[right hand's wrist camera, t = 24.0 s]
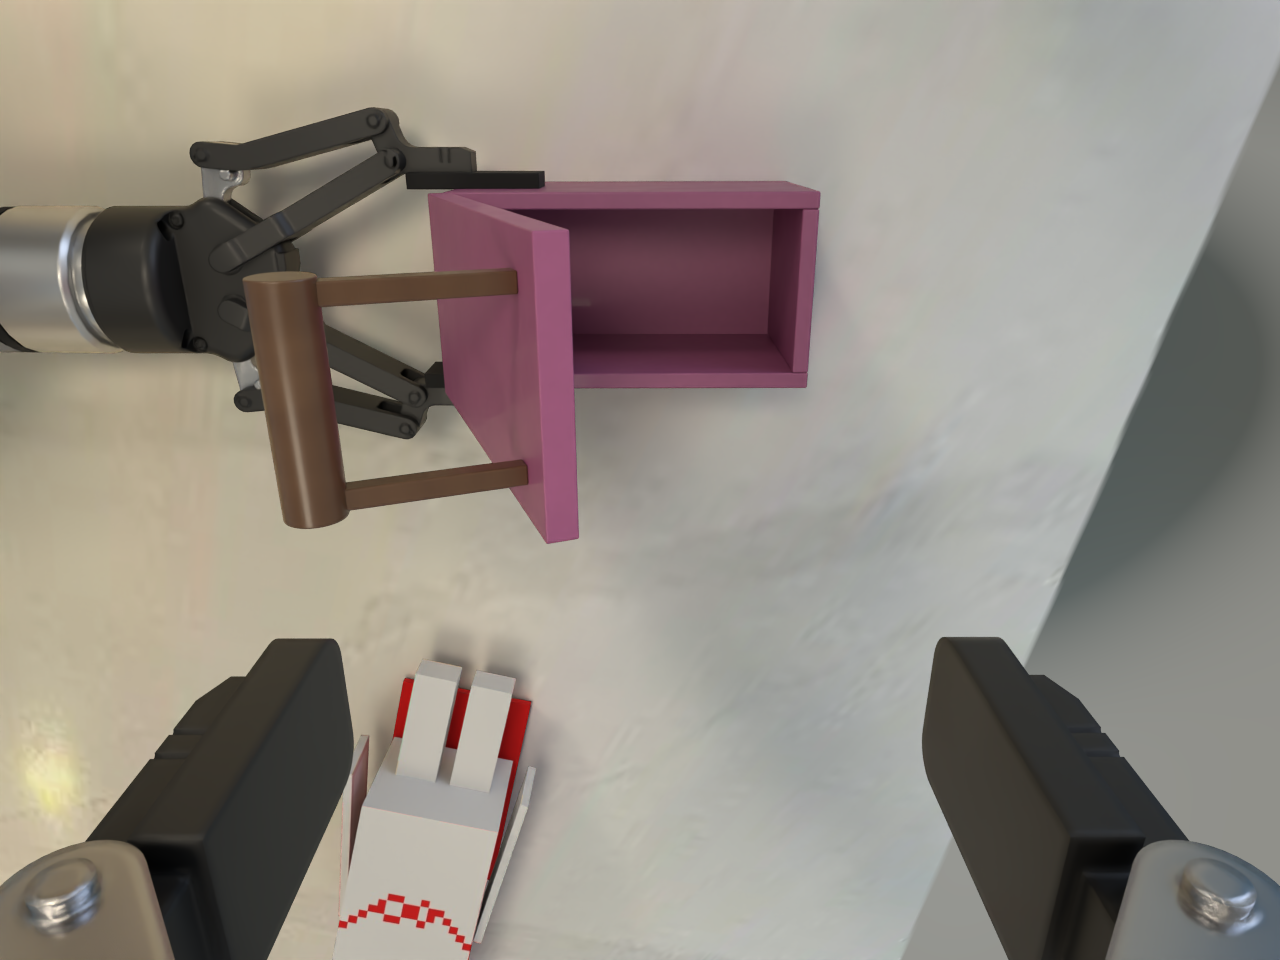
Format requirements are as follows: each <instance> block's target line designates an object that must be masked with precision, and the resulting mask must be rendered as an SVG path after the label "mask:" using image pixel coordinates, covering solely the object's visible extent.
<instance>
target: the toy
mask: <svg viewBox="0 0 1280 960" xmlns="http://www.w3.org/2000/svg"><path fill="white" fill-rule="evenodd" d="M461 672H462V667H459V666H455V665H450V664H445V663H440V662H436V661H431V660H426V659H423V660H422V662H421V664H420V666H419V668H418V670H417V672H416V674H415V679H414V680H413V679H408V678H405V679H404V681H403V686H402V692H401V697H400V703H399V708H398V713H397V719H396V724H395V730H394V735H393V741H392V743H391V745H390V747H389V749H388V751H387V753H386V756H385V758H384V760H383V762H382V764H381V766H380V768H379V771H378V773H377V775H376V777H375V779H374V781H373V783H372V785H371V788H370V790H369V792H368V794H367V773H368V751H369V736H367V735H361V737H360V739H359V741H358V743H357V746H356V748H355V750H354V752H353V760H352V766H351V771H350V775H349V778H348V781H347V784H346V786H345V788H344V791H343V808H342V836H341V865H340V893H339V916H340V921H339V926H338V931H337V936H336V942H335V947H334V952H333V957H332V960H469V955H470V951H471V946H472V941H473V942H476V943H480V944H481V941H482V938H483V935H484V933H485V930H486V927H487V924H488V921H489V918H490V915H491V913H492V910H493V907H494V904H495V901H496V898H497V895H498V892H499V890H500V887H501V884H502V881H503V878H504V875H505V872H506V870H507V867H508V864H509V861H510V858H511V855H512V852H513V849H514V847H515V844H516V841H517V838H518V835H519V832H520V829H521V827H522V824H523V821H524V818H525V815H526V812H527V809H528V806H529V801H530V796H531V791H532V786H533V781H534V776H535V771H536V768H533V767H530V766H528V769H527V772H526V775H525V778H524V781H523V784H522V787H521V790H520V792H519V795H518V798H517V801H516V804H515V807H514V810H513V813H512V816H511V819H510V822H509V824H508V827H507V830H506V833H505V836H504V839H503V842H502V845H501V848H500V844H501V840H502V835H503V830H504V826H505V821H506V816H507V812H508V807H509V803H510V798H511V793H512V789H513V784H514V780H515V775H516V770H517V766H518V761H519V756H520V752H521V747H522V743H523V738H524V733H525V729H526V724H527V719H528V715H529V710H530V706H531V701H525V700H520V699H515V698H512V693H513V689H514V685H515V681H516V678H511V677H507V676H502V675H497V674H492V673H488V672H483V671H478V670H477V671H476V674H475V677H474V680H473V683H472V686H471V690H466V689H461V688H458V686H459V681H460V677H461ZM499 849H500V851H499ZM498 853H499V854H498ZM487 880H489V883H488V886H487V888H486V891H485V894H484V890H485V886H486V882H487ZM483 894H484V898H483ZM482 898H483V902H482ZM481 903H482V906H481ZM480 907H481V910H480ZM479 911H480V915H479ZM478 915H479V919H478ZM477 919H478V923H477ZM476 924H477V927H476ZM475 928H476V931H475ZM474 932H475V935H474ZM473 936H474V940H473Z"/></svg>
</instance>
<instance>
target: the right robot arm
mask: <svg viewBox="0 0 1280 960" xmlns="http://www.w3.org/2000/svg"><path fill="white" fill-rule="evenodd" d="M353 749H354V739H353V729H352V723H351V716H350V709H349V703H348V696H347V689H346V683H345V676H344V670H343V663H342V656H341V651H340V648H339V645H338V643H337V642H336V641H335V640H334V639H275V640H273V641H272V642H271V643H270V644H269V645H268V647H267V648H266V650H265V651H264V652H263V654H262V655H261V656H260V658H259V659H258V661H257V662H256V663H255V665H254V666H253V667H252V669H251V670H250V671H249V673H248V674H247V676H246V677H230V678H228V679H227V680H225V681H224V682H222V683H221V684H220V685H218V686H217V687H215V688H214V689H212V690H211V691H209V692H208V693H207V694H205V695H204V696H202V697H201V698H199V699H198V700H196V701H195V703H194V704H193V705H192V706H191V708H190V709H189V710H188V712H187V713H186V714H185V715H184V717H183V718H182V719H181V720H180V722H179V723H178V724H177V726H176V727H175V728H174V733H173V735H169V736H168V737H167V738H166V740H165V741H164V742H163V743H162V745H161V746H160V747H159V748H158V750H157V751H156V752H155V758H154V759H150V760H149V761H148V762H147V764H146V765H145V766H144V767H143V769H142V770H141V771H140V773H139V774H138V775H137V776H136V778H135V779H134V780H133V781H132V783H131V784H130V785H129V787H128V788H127V789H126V790H125V792H124V793H123V794H122V795H121V797H120V798H119V799H118V801H117V802H116V803H115V804H114V806H113V807H112V808H111V809H110V811H109V812H108V813H107V815H106V816H105V817H104V818H103V820H102V821H101V822H100V823H99V825H98V826H97V827H96V829H95V830H94V831H93V832H92V834H91V835H90V836H89V837H88V839H87V840H86V841H85V842H83V843H79V844H75V845H71V846H68V847H65V848H62V849H60V850H57V851H54V852H52V853H50V854H48V855H45V856H43V857H41V858H40V859H38V860H36V861H34V862H32V863H30V864H29V865H27V866H26V867H24V868H23V869H21V870H20V871H18V872H17V873H15V874H14V875H13V876H12V877H10V878H9V879H8V880H7V881H5V882H4V883H3V884H2V885H1V886H0V960H267V958H268V956H269V954H270V952H271V949H272V947H273V945H274V943H275V941H276V938H277V936H278V934H279V932H280V930H281V927H282V925H283V923H284V921H285V919H286V916H287V914H288V912H289V910H290V907H291V905H292V903H293V901H294V899H295V896H296V894H297V892H298V890H299V888H300V885H301V883H302V881H303V879H304V877H305V874H306V872H307V870H308V868H309V866H310V863H311V861H312V859H313V857H314V855H315V852H316V850H317V848H318V846H319V844H320V841H321V839H322V837H323V835H324V832H325V830H326V828H327V826H328V824H329V821H330V819H331V817H332V815H333V813H334V810H335V808H336V806H337V804H338V802H339V799H340V797H341V795H342V793H343V791H344V788H345V786H346V784H347V781H348V778H349V775H350V771H351V766H352V760H353ZM922 751H923V760H924V766H925V770H926V774H927V778H928V780H929V783H930V785H931V787H932V790H933V792H934V794H935V796H936V799H937V801H938V803H939V805H940V808H941V810H942V812H943V814H944V816H945V819H946V821H947V823H948V825H949V828H950V830H951V832H952V834H953V837H954V839H955V841H956V843H957V846H958V848H959V850H960V852H961V854H962V857H963V859H964V861H965V863H966V866H967V868H968V870H969V872H970V874H971V877H972V879H973V881H974V883H975V886H976V888H977V890H978V892H979V895H980V897H981V899H982V901H983V904H984V906H985V908H986V910H987V912H988V915H989V917H990V919H991V921H992V924H993V926H994V928H995V930H996V933H997V935H998V937H999V939H1000V942H1001V944H1002V946H1003V948H1004V950H1005V953H1006V955H1007V957H1008V959H1009V960H1280V886H1279V885H1278V884H1277V883H1276V882H1275V881H1273V880H1272V879H1271V878H1270V877H1268V876H1267V875H1266V874H1265V873H1263V872H1262V871H1260V870H1259V869H1257V868H1256V867H1254V866H1253V865H1251V864H1250V863H1248V862H1246V861H1244V860H1242V859H1240V858H1239V857H1237V856H1234V855H1232V854H1230V853H1228V852H1226V851H1223V850H1220V849H1218V848H1215V847H1212V846H1209V845H1205V844H1201V843H1197V842H1191V841H1189V840H1188V839H1187V837H1186V836H1185V835H1184V834H1183V832H1182V831H1181V830H1180V828H1179V827H1178V826H1177V825H1176V823H1175V822H1174V821H1173V819H1172V818H1171V817H1170V816H1169V814H1168V813H1167V812H1166V810H1165V809H1164V808H1163V807H1162V805H1161V804H1160V803H1159V801H1158V800H1157V799H1156V798H1155V796H1154V795H1153V794H1152V792H1151V791H1150V790H1149V789H1148V787H1147V786H1146V785H1145V783H1144V782H1143V781H1142V780H1141V778H1140V777H1139V776H1138V775H1137V773H1136V772H1135V771H1134V769H1133V768H1132V767H1131V766H1130V764H1129V763H1128V762H1127V760H1126V759H1125V758H1124V757H1120V756H1119V750H1118V749H1117V748H1116V746H1115V745H1114V744H1113V742H1112V741H1111V740H1110V739H1109V737H1108V736H1107V735H1106V733H1101V727H1100V726H1099V724H1098V723H1097V722H1096V721H1095V719H1094V718H1093V717H1092V715H1091V714H1090V713H1089V712H1088V710H1087V709H1086V708H1085V707H1084V705H1083V704H1082V703H1081V701H1080V700H1079V699H1078V698H1076V697H1075V696H1073V695H1072V694H1071V693H1069V692H1068V691H1066V690H1065V689H1063V688H1062V687H1061V686H1059V685H1058V684H1056V683H1055V682H1053V681H1052V680H1050V679H1049V678H1048V677H1046V676H1045V675H1029V674H1028V673H1027V672H1026V670H1025V669H1024V667H1023V666H1022V665H1021V663H1020V662H1019V660H1018V659H1017V658H1016V656H1015V655H1014V654H1013V652H1012V651H1011V649H1010V648H1009V647H1008V645H1007V644H1006V643H1005V641H1004V640H1003V639H1001V638H999V637H942V638H941V639H940V640H939V641H938V643H937V645H936V648H935V652H934V658H933V665H932V672H931V678H930V685H929V692H928V699H927V705H926V712H925V719H924V725H923V733H922Z"/></svg>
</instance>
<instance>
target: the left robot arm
mask: <svg viewBox="0 0 1280 960" xmlns="http://www.w3.org/2000/svg"><path fill="white" fill-rule="evenodd" d="M369 140H372V141H373V144H374V146H375V148H376V150H377V154H375V155H374V156H372V157H370V158H369V159H367V160H365V161H364V162H362V163H360V164H359V165H357V166H355V167H354V168H352V169H350V170H349V171H347V172H345V173H344V174H342V175H340V176H339V177H337V178H335V179H334V180H332V181H331V182H329V183H327V184H326V185H324V186H322V187H321V188H319V189H317V190H316V191H314V192H312V193H311V194H309V195H307V196H306V197H304V198H302V199H301V200H299V201H297V202H296V203H294V204H292V205H291V206H289V207H287V208H286V209H284V210H282V211H280V212H278V213H276V214H274V215H272V216H270V217H268V218H267V219H265V220H263V219H261V218H260V217H258V216H257V215H255V214H254V213H252V212H251V211H250V210H248V209H247V208H245V207H244V206H242V205H241V204H239V203H238V202H236V201H235V200H233V199H231V193H232V191H233V190H234V188H236V187H237V186H242V185H245V184H247V183H248V182H249V180H250V178H251V170H256V169H267V168H271V167H276V166H279V165H283V164H287V163H290V162H294V161H297V160H301V159H304V158H308V157H312V156H315V155H319V154H322V153H326V152H329V151H333V150H337V149H340V148H344V147H347V146H351V145H354V144H358V143H362V142H365V141H369ZM190 157H191V160H192V161H193V163H194V164H196V165H197V166H198V167H201V172H202V184H203V196H204V198H201V199H199V200H198V201H196V202H195V203H193V204H191V205H189V206H113V207H109V208H107V209H103V208H101V207H98V206H17V207H1V208H0V352H54V353H118V352H122V351H124V350H125V351H128V352H132V353H210V354H214V355H217V356H220V357H222V358H224V359H226V360H228V361H231V362H233V365H234V369H235V372H236V376H237V379H238V383H239V386H240V391H239V392H238V393H237V394H235V397H234V403H235V405H236V407H237V408H238V409H239V410H241V411H243V412H255V411H265V410H264V404H263V398H262V392H261V386H260V380H259V375H258V369H257V363H256V357H255V351H254V345H253V340H252V334H251V328H250V322H249V316H248V310H247V304H246V299H245V293H244V287H243V281H242V280H243V278H244V277H247V276H250V275H254V274H261V273H270V272H288V271H297V272H299V271H300V256H299V249H295V248H294V246H293V244H292V243H291V242H293V241H294V240H296V239H298V238H299V237H301V236H303V235H304V234H306V233H308V232H309V231H311V230H312V229H313V228H314V227H316V226H318V225H319V224H321V223H323V222H324V221H326V220H328V219H330V218H331V217H333V216H335V215H336V214H338V213H340V212H341V211H343V210H345V209H346V208H348V207H350V206H351V205H353V204H355V203H356V202H358V201H360V200H361V199H363V198H365V197H367V196H368V195H370V194H372V193H373V192H375V191H377V190H378V189H380V188H382V187H383V186H385V185H387V184H388V183H390V182H392V181H393V180H395V179H397V178H399V177H400V176H402V175H404V174H406V185H407V189H540V188H542V187H544V186H545V173H544V171H477V164H476V151H474V150H471V149H469V148H466V147H415V146H413V145H411V144H410V143H408V142H407V140H406V139H405V137H404V136H403V133H402V131H401V129H400V126H399V118H398V117H397V115H396V113H394V112H393V111H392V110H389V109H384V108H375V107H373V108H366V109H363V110H359V111H356V112H352V113H349V114H345V115H342V116H338V117H335V118H331V119H328V120H324V121H321V122H317V123H313V124H310V125H306V126H303V127H299V128H296V129H292V130H289V131H285V132H282V133H278V134H275V135H271V136H268V137H264V138H261V139H257V140H254V141H250V142H246V143H243V144H242V143H233V142H224V141H219V142H196V143H194V144H193V145H192V146H191V148H190ZM323 323H324V321H323ZM324 330H325V337H326V344H327V352H328V359H329V366H330V368H332V369H334V370H336V371H338V372H340V373H343V374H345V375H347V376H349V377H351V378H353V379H355V380H357V381H359V382H361V383H363V384H365V385H367V386H369V387H371V388H373V389H375V390H378V391H380V392H382V393H384V394H386V395H388V396H390V397H392V398H394V399H396V400H398V401H396V400H392V399H387V398H383V397H379V396H375V395H371V394H367V393H362V392H358V391H354V390H350V389H346V388H342V387H337V386H333V385H332V388H333V395H334V402H335V409H336V416H337V423H339V424H343V425H347V426H351V427H356V428H360V429H364V430H368V431H373V432H377V433H381V434H385V435H390V436H394V437H398V438H402V439H410V438H413V437H414V436H415V435H416V433H417V432H418V431H419V429H420V428H421V427H422V425H423V424H424V423H425V421H426V419H427V411H428V408H429V407H430V406H434V405H453V403H452V402H451V400H450V399H449V397H448V396H447V394H446V392H445V382H444V371H443V362H435V363H434V364H433V365H432V366H431V367H430V369H429V370H428V371H427V372H426V373H425V374H424V373H422V372H420V371H418V370H416V369H414V368H412V367H410V366H408V365H406V364H404V363H402V362H400V361H398V360H396V359H394V358H392V357H390V356H388V355H386V354H384V353H382V352H380V351H378V350H376V349H374V348H372V347H370V346H368V345H366V344H364V343H362V342H360V341H358V340H356V339H354V338H351V337H349V336H347V335H345V334H343V333H341V332H339V331H337V330H335V329H333V328H331V327H329V326H327V325H326V324H325V323H324Z"/></svg>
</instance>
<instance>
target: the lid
mask: <svg viewBox="0 0 1280 960" xmlns="http://www.w3.org/2000/svg"><path fill="white" fill-rule="evenodd" d="M428 203H429V214H430V226H431V237H432V248H433V259H434V270H435V272H422V273H404V274H386V275H368V276H349V277H331V278H317V276H316V274H314V273H310V272H297V271H288V272H270V273H261V274H254V275H250V276H247V277H244V278H243V280H242V281H243V287H244V293H245V299H246V304H247V310H248V316H249V322H250V328H251V334H252V340H253V345H254V351H255V357H256V363H257V369H258V375H259V380H260V386H261V392H262V398H263V404H264V410H265V415H266V421H267V427H268V433H269V439H270V445H271V451H272V456H273V462H274V468H275V474H276V480H277V486H278V491H279V497H280V503H281V509H282V515H283V520H284V522H285V524H286V525H288V526H290V527H293V528H300V529H312V528H320V527H325V526H329V525H332V524H335V523H338V522H340V521H342V520H343V519H345V518H346V517H347V516H348V514H349V512H350V510H357V509H364V508H370V507H377V506H384V505H391V504H398V503H405V502H412V501H419V500H426V499H433V498H440V497H447V496H454V495H461V494H468V493H475V492H482V491H489V490H496V489H503V488H510V490H511V491H512V493H513V494H514V496H515V497H516V499H517V500H518V502H519V503H520V505H521V506H522V508H523V509H524V511H525V512H526V514H527V515H528V517H529V518H530V520H531V521H532V523H533V524H534V525H535V527H536V528H537V530H538V531H539V533H540V534H541V536H542V537H543V539H544V540H545V542H546V543H547V544H550V543H556V542H562V541H567V540H573V539H578V538H579V525H578V494H577V462H576V431H575V400H574V368H573V337H572V306H571V275H570V243H569V230H568V229H565V228H561V227H558V226H555V225H552V224H549V223H545V222H542V221H539V220H536V219H532V218H529V217H526V216H523V215H520V214H516V213H513V212H510V211H507V210H503V209H500V208H497V207H494V206H491V205H487V204H484V203H481V202H478V201H474V200H471V199H468V198H465V197H462V196H458V195H455V194H452V193H429V194H428ZM422 300H437V304H438V315H439V326H440V338H441V349H442V360H443V371H444V382H445V392H446V394H447V396H448V397H449V399H450V400H451V402H452V403H453V405H454V406H455V408H456V409H457V411H458V412H459V414H460V415H461V417H462V418H463V419H464V421H465V422H466V424H467V425H468V427H469V428H470V430H471V431H472V433H473V434H474V436H475V437H476V439H477V440H478V442H479V443H480V445H481V446H482V448H483V449H484V451H485V452H486V454H487V455H488V457H489V458H490V460H491V461H492V463H490V464H482V465H475V466H467V467H460V468H452V469H445V470H437V471H430V472H422V473H414V474H407V475H399V476H392V477H384V478H377V479H369V480H362V481H354V482H347V483H346V481H345V474H344V467H343V459H342V452H341V445H340V438H339V431H338V423H337V416H336V409H335V402H334V395H333V388H332V380H331V373H330V366H329V359H328V352H327V344H326V337H325V330H324V323H323V316H322V309H321V307H331V306H346V305H361V304H376V303H391V302H407V301H422Z"/></svg>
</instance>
